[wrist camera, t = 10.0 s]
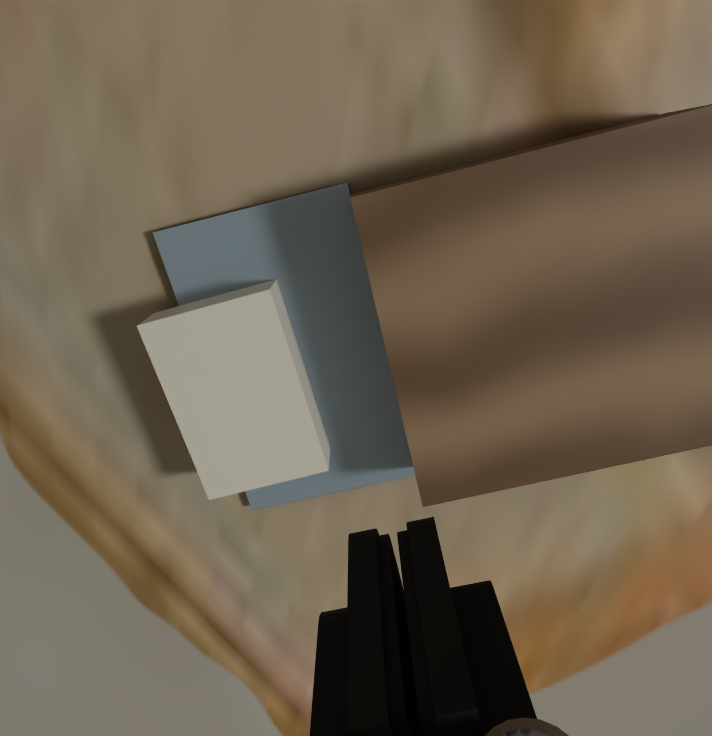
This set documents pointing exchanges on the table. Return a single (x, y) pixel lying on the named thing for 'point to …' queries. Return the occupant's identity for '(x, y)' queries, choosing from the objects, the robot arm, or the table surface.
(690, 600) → the table surface
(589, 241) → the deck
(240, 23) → the table surface
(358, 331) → the mat
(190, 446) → the white rectangular block
